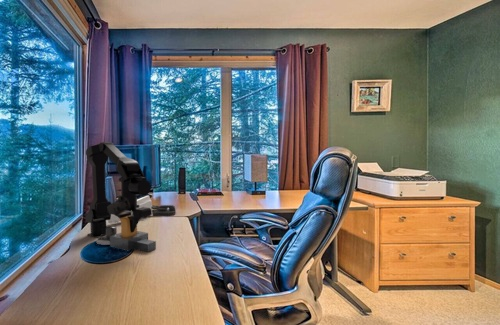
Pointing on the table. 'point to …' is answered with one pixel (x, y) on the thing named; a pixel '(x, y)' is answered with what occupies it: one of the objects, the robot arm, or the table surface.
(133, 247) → the ring lock bracket
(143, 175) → the robot arm
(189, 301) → the table surface
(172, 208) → the black stapler
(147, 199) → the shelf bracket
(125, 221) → the tan stepped block
